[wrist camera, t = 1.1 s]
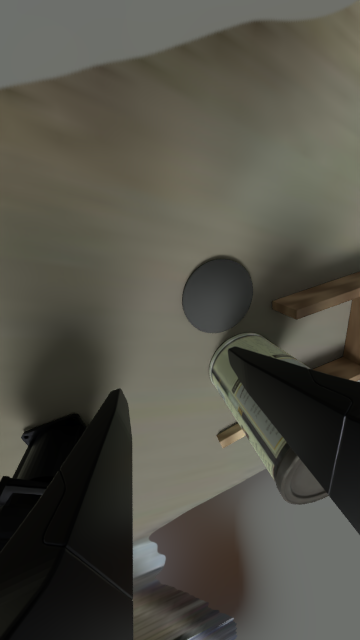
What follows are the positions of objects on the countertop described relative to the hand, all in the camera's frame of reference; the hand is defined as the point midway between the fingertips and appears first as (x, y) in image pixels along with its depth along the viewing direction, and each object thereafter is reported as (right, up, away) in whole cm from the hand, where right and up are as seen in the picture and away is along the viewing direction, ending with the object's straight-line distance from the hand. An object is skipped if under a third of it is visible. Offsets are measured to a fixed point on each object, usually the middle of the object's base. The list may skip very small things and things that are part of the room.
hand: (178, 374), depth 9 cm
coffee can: (+9, -4, +19) cm, 21 cm away
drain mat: (+5, +5, +14) cm, 15 cm away
